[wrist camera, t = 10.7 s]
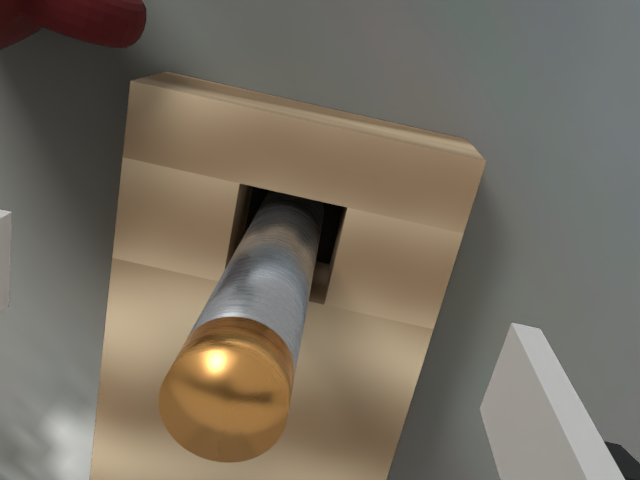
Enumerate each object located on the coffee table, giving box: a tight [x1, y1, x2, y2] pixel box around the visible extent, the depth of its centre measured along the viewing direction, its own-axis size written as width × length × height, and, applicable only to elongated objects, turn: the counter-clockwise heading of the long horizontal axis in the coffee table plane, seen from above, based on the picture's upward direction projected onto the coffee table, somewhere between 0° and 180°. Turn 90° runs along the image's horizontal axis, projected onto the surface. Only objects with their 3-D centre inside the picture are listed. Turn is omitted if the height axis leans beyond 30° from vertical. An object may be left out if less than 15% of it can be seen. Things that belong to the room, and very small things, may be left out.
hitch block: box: [89, 72, 486, 480], centre depth 27 cm, size 30×12×4 cm, turn 168°
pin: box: [158, 191, 324, 463], centre depth 19 cm, size 3×3×14 cm
